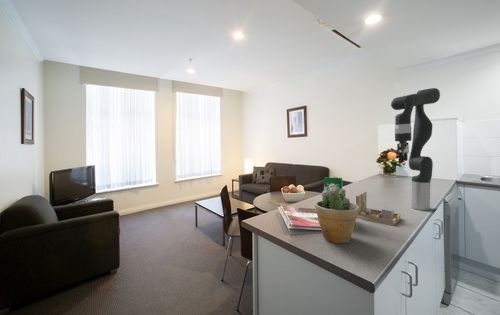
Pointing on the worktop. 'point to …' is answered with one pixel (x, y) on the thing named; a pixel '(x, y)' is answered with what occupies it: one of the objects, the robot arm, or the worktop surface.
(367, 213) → the pebble
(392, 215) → the gray rectangular block
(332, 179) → the milk carton
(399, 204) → the worktop surface
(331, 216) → the potted plant
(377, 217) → the divided box
